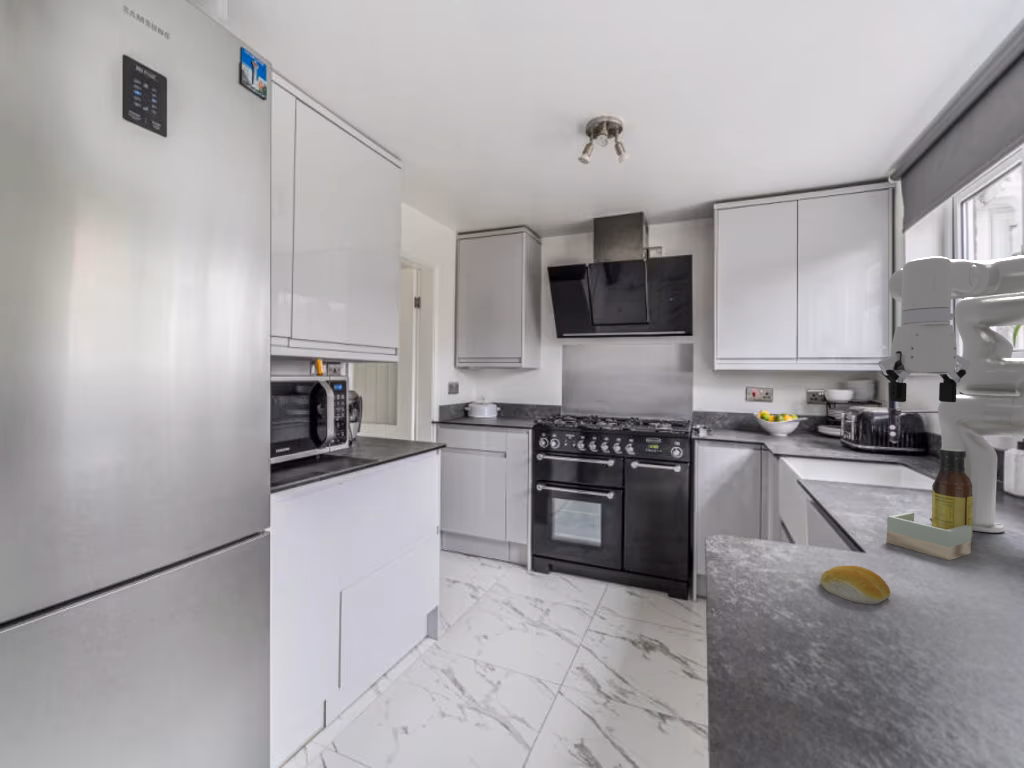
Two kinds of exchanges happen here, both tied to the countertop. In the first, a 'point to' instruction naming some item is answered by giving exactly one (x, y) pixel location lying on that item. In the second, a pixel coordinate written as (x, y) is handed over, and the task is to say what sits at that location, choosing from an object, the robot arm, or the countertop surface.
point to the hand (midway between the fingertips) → (922, 401)
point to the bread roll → (855, 584)
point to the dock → (928, 537)
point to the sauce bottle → (952, 492)
